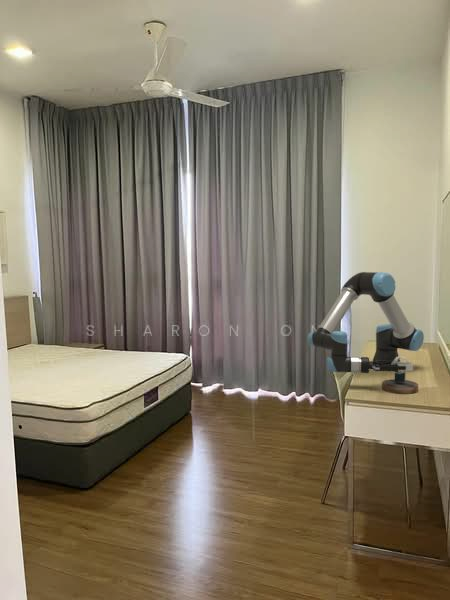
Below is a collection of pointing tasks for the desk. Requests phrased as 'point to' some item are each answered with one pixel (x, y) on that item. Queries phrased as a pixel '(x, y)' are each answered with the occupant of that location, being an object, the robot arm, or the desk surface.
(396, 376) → the watch
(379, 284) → the robot arm
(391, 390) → the plinth
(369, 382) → the desk surface
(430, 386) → the desk surface
